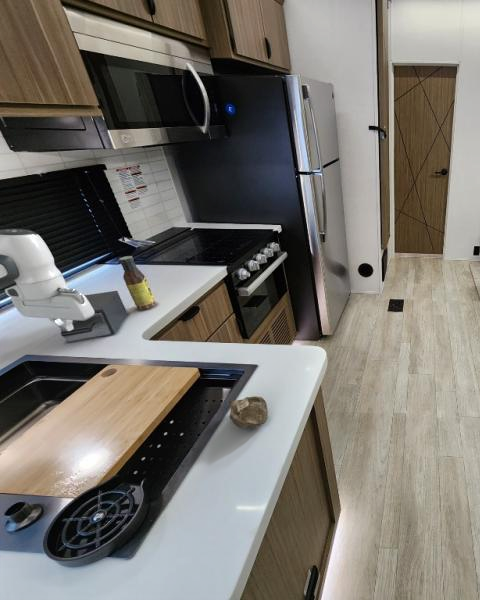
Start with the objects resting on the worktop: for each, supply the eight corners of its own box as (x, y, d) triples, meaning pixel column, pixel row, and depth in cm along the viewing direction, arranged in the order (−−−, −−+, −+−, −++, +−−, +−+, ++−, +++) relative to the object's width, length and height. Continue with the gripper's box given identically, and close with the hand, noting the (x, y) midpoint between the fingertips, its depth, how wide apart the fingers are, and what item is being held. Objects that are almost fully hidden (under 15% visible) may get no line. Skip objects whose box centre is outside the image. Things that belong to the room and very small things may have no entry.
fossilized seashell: (224, 404, 78) (228, 439, 71) (234, 383, 76) (240, 418, 69) (255, 404, 83) (262, 437, 76) (266, 385, 81) (274, 417, 74)
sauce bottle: (160, 305, 127) (140, 256, 118) (142, 312, 123) (120, 262, 113) (151, 301, 130) (131, 253, 121) (133, 308, 126) (111, 258, 116)
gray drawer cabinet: (115, 334, 110) (102, 309, 105) (67, 342, 106) (52, 317, 101) (127, 313, 122) (117, 290, 117) (85, 320, 117) (72, 297, 113)
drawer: (105, 341, 104) (94, 320, 101) (59, 350, 100) (46, 328, 97) (123, 314, 119) (114, 295, 116) (83, 321, 115) (73, 301, 112)
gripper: (89, 284, 93) (108, 326, 99) (24, 280, 95) (47, 322, 101) (67, 294, 87) (89, 338, 94) (-2, 290, 89) (24, 333, 95)
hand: (67, 329), depth 97 cm, fingers closed
